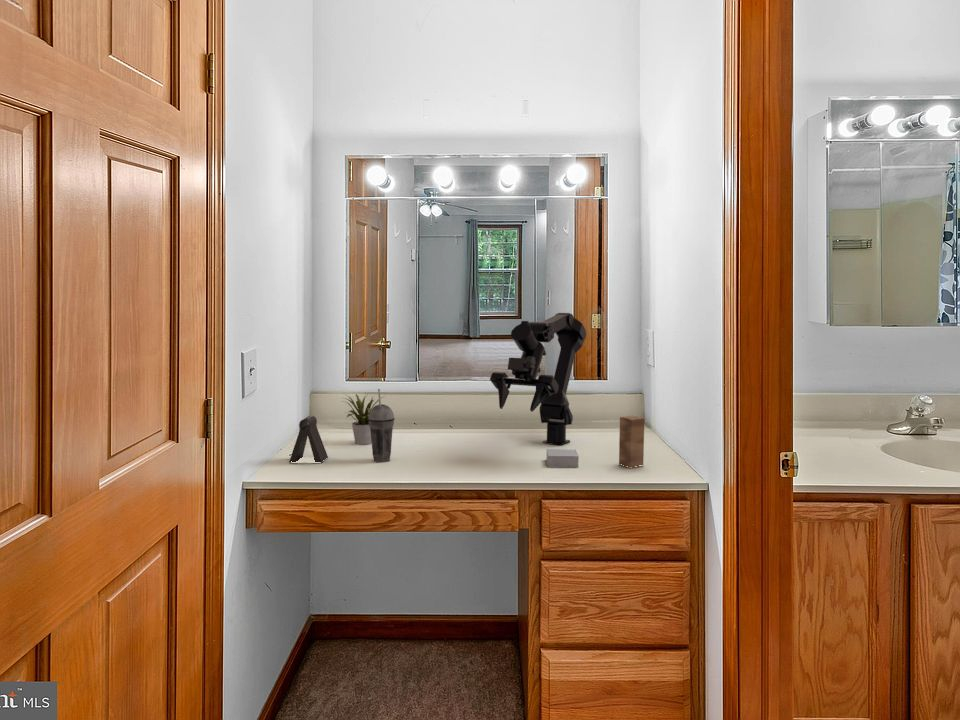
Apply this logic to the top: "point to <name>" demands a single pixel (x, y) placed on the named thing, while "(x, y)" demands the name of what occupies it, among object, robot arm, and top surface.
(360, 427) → the house plant
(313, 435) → the phone stand
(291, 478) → the top surface
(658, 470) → the top surface
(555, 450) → the plinth
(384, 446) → the beverage cup
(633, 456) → the walnut block
